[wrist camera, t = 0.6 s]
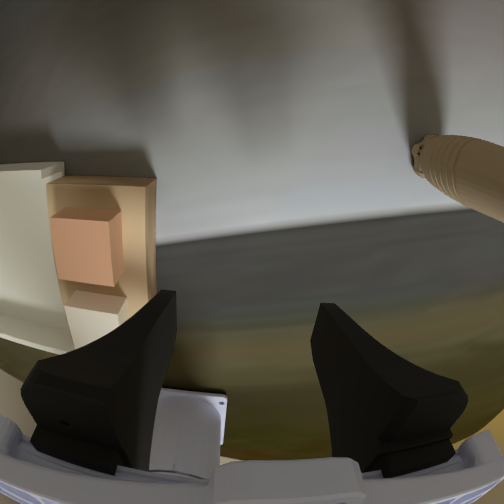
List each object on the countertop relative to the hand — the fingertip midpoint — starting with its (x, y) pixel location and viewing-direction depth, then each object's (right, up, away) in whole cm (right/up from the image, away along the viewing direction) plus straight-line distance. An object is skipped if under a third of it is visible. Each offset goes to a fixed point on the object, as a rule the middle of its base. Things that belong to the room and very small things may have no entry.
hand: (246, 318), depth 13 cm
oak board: (-10, +2, +9) cm, 13 cm away
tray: (-20, +3, +8) cm, 21 cm away
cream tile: (-10, -2, +8) cm, 13 cm away
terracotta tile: (-10, +3, +5) cm, 11 cm away
